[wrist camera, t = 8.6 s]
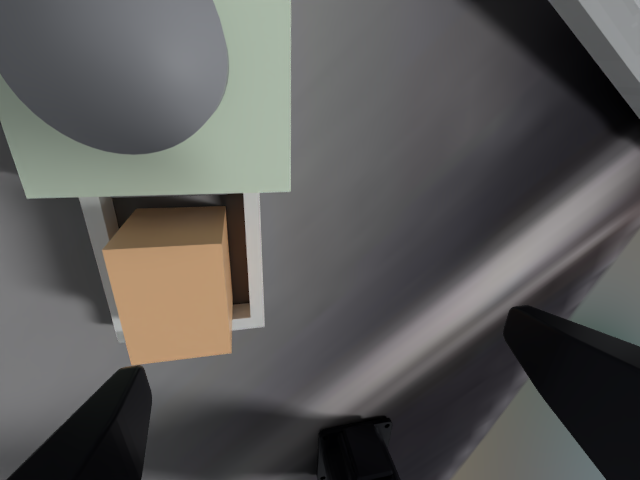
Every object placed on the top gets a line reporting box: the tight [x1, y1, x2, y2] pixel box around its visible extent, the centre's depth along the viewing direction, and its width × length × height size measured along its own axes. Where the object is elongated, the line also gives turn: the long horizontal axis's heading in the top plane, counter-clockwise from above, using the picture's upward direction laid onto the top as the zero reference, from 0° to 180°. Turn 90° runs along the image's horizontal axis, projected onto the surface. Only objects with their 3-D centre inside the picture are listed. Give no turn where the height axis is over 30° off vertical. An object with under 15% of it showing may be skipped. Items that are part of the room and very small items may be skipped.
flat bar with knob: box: [548, 0, 640, 119], centre depth 17 cm, size 5×7×25 cm
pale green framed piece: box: [0, 0, 291, 343], centre depth 14 cm, size 19×11×6 cm, turn 178°
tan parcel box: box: [102, 206, 233, 365], centre depth 17 cm, size 6×4×5 cm
